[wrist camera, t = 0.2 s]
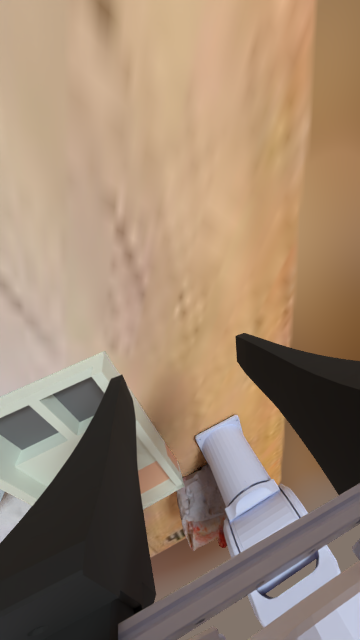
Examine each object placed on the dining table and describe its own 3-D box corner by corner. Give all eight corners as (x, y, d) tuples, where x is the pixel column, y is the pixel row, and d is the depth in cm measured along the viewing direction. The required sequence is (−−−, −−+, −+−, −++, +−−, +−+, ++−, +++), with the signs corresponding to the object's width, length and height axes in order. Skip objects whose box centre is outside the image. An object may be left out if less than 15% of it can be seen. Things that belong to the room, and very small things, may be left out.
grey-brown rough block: (176, 496, 37) (193, 575, 28) (171, 475, 33) (189, 557, 25) (236, 469, 40) (269, 533, 31) (238, 447, 36) (275, 512, 28)
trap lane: (178, 462, 32) (184, 486, 29) (95, 507, 31) (93, 537, 28) (104, 351, 20) (101, 371, 17) (-41, 415, 18) (-73, 450, 15)
